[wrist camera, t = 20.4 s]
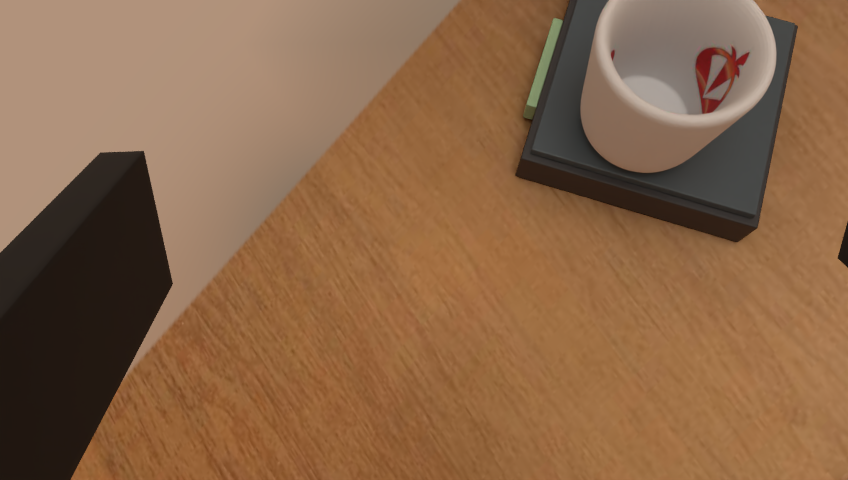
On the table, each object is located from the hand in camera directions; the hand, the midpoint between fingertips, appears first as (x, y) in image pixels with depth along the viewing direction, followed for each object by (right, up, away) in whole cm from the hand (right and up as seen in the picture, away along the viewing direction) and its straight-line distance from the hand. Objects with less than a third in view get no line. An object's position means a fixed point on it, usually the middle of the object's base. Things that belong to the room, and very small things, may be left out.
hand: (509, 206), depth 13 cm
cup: (+10, +7, +27) cm, 29 cm away
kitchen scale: (+12, +7, +30) cm, 33 cm away
